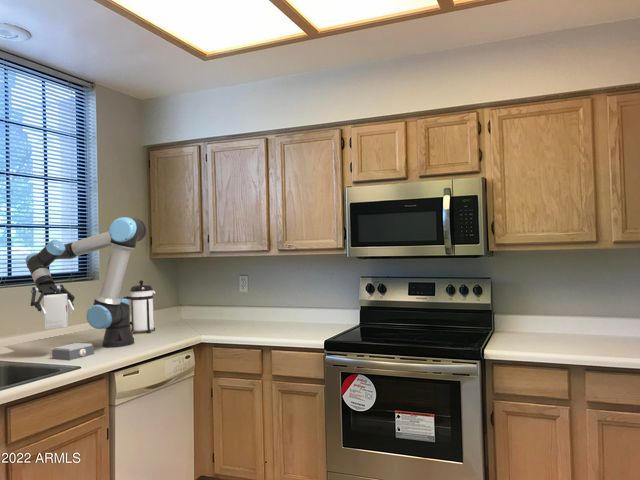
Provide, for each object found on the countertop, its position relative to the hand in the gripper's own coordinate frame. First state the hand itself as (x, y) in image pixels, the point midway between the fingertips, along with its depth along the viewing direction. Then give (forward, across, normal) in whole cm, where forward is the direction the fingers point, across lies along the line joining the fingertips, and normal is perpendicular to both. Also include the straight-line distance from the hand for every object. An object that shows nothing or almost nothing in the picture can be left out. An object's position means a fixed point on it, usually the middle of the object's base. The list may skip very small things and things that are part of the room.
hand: (59, 313), depth 235 cm
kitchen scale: (+18, -3, -10) cm, 21 cm away
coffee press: (-5, -56, -34) cm, 66 cm away
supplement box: (+3, 0, -6) cm, 7 cm away
